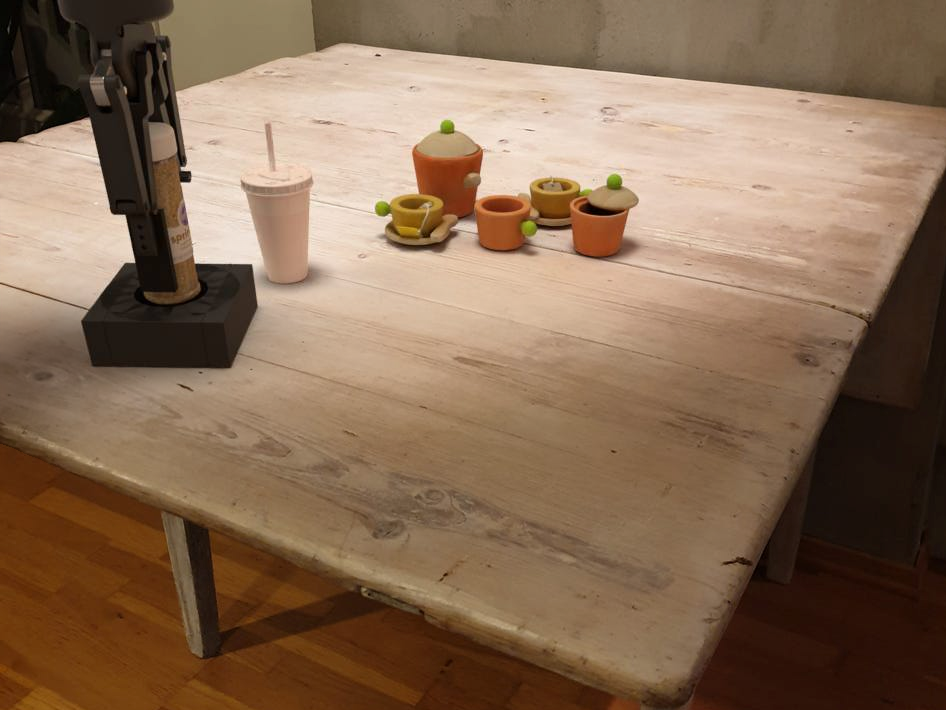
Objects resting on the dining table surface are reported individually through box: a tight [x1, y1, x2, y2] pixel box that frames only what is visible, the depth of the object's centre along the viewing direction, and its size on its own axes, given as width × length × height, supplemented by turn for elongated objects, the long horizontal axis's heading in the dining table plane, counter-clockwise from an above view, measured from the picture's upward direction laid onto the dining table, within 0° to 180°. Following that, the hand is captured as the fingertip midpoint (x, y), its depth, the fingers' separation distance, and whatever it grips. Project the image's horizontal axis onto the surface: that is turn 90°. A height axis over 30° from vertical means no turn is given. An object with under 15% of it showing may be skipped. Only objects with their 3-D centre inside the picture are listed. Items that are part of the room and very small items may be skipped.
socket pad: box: [80, 262, 259, 369], centre depth 80 cm, size 11×11×4 cm
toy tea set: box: [374, 119, 640, 258], centre depth 98 cm, size 26×16×10 cm, turn 81°
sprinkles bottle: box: [144, 122, 201, 305], centre depth 75 cm, size 5×5×13 cm
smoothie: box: [239, 121, 314, 285], centre depth 87 cm, size 6×6×14 cm
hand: (168, 275), depth 78 cm, fingers closed on sprinkles bottle, 4 cm apart
